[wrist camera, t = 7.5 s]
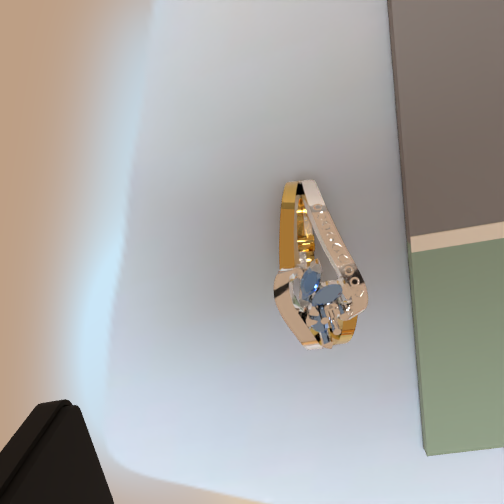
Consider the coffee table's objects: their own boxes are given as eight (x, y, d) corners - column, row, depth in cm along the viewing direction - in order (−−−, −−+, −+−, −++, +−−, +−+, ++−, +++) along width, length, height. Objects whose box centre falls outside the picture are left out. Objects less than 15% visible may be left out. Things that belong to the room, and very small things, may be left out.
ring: (338, 299, 22) (374, 392, 15) (277, 303, 23) (282, 398, 15) (333, 166, 20) (371, 195, 13) (266, 172, 21) (265, 205, 13)
